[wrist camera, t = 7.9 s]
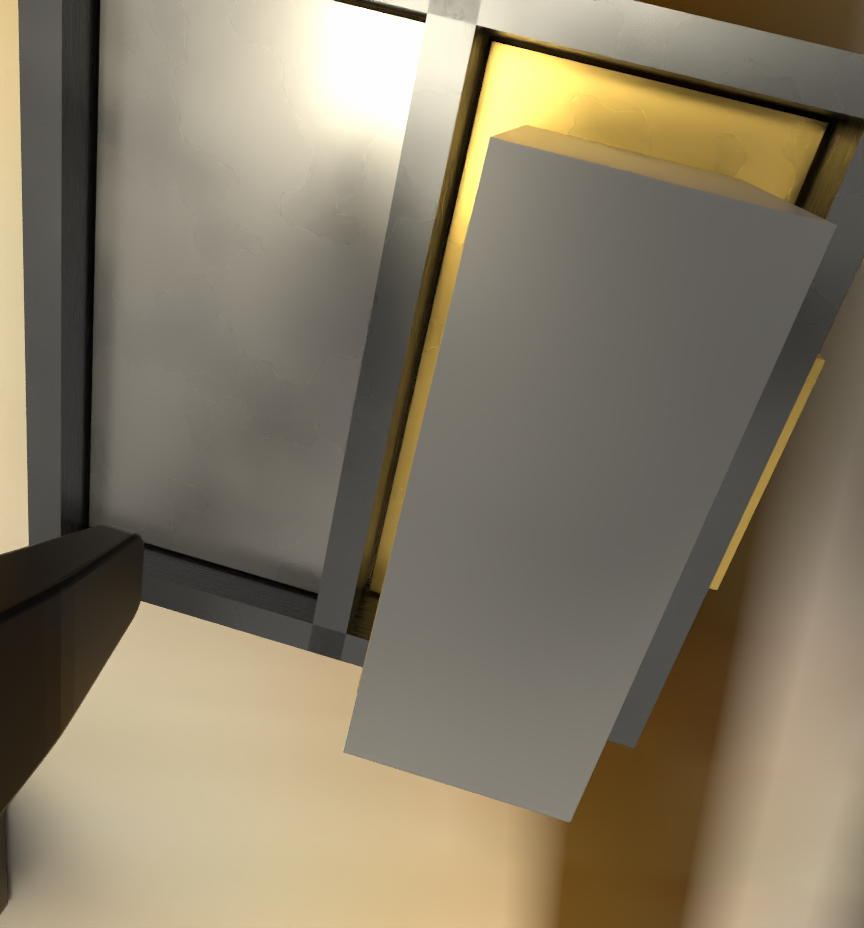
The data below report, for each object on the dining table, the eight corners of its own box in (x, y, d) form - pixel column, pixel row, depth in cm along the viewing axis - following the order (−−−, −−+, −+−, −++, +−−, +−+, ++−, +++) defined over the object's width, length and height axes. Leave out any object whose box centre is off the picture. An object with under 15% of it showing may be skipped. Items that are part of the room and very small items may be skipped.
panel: (576, 614, 18) (572, 823, 13) (410, 566, 19) (341, 751, 13) (742, 179, 14) (841, 226, 9) (522, 123, 14) (485, 135, 9)
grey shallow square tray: (637, 691, 19) (643, 750, 18) (78, 526, 20) (29, 567, 19) (911, 81, 13) (961, 78, 11) (87, -114, 14) (15, -146, 12)
